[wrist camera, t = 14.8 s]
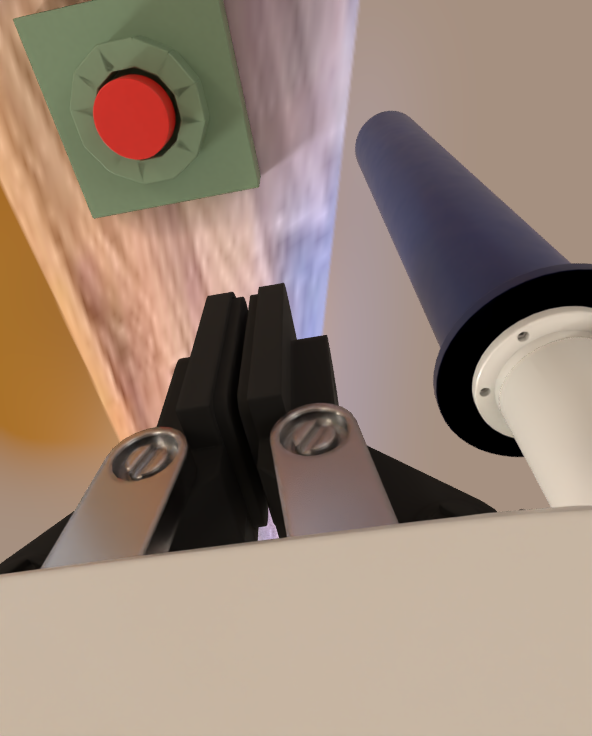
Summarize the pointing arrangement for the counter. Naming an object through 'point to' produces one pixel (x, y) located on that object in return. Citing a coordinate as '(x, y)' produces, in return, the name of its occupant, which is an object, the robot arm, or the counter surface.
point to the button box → (171, 71)
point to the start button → (134, 116)
